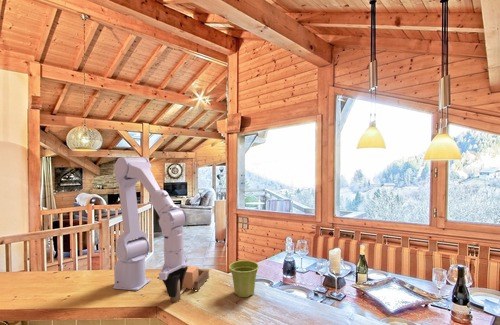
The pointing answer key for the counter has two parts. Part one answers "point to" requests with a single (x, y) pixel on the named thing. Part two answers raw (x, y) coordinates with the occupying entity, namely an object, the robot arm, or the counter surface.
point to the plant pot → (244, 277)
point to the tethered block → (186, 282)
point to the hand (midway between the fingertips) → (175, 293)
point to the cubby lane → (201, 278)
